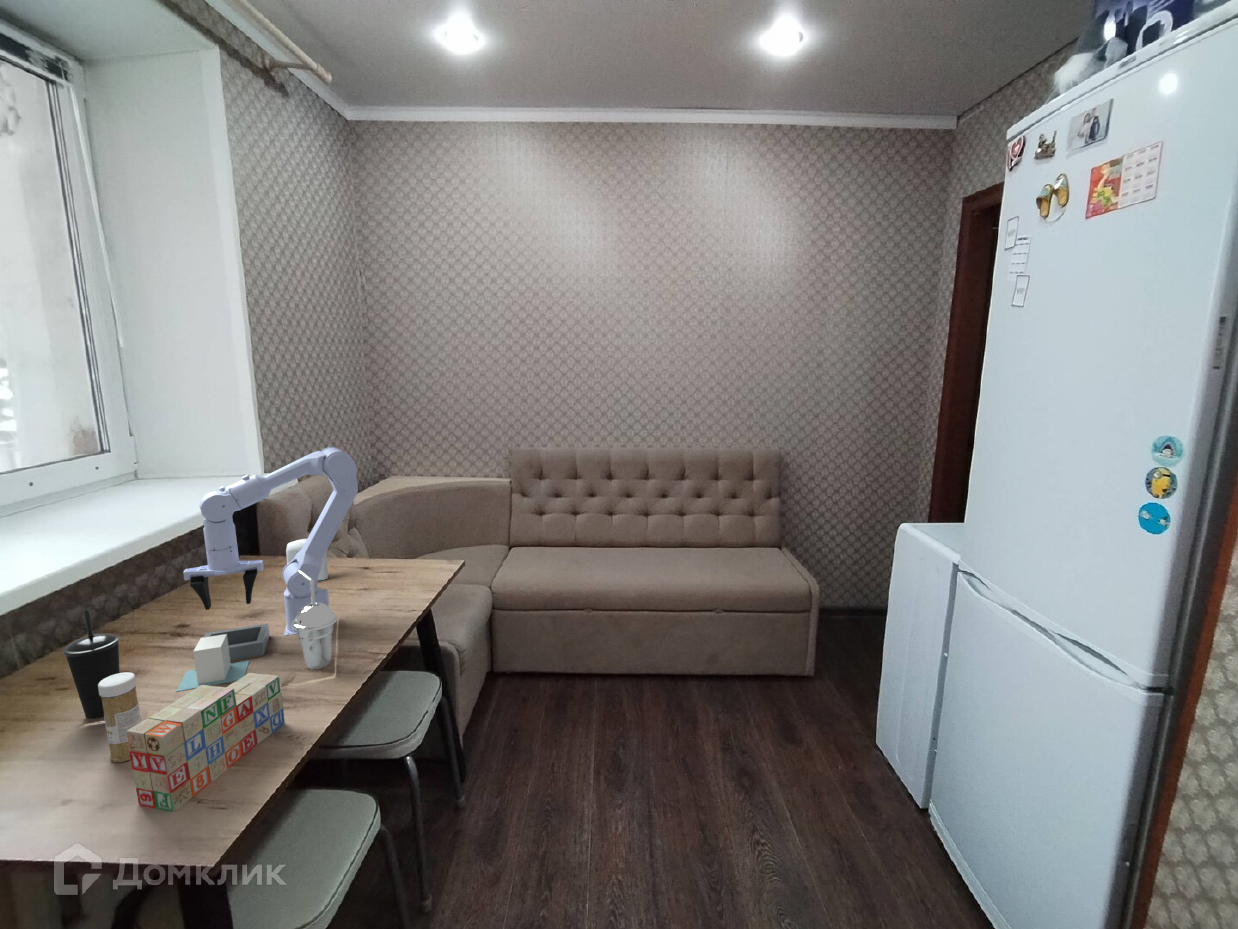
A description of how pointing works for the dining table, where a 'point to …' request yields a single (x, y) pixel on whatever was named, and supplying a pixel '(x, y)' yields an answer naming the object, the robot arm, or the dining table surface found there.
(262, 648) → the case
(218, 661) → the block
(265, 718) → the stack of blocks
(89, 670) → the drinking cup
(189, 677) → the mat
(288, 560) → the photo printer
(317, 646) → the cup with straw
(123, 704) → the sprinkles bottle
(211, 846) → the dining table surface
